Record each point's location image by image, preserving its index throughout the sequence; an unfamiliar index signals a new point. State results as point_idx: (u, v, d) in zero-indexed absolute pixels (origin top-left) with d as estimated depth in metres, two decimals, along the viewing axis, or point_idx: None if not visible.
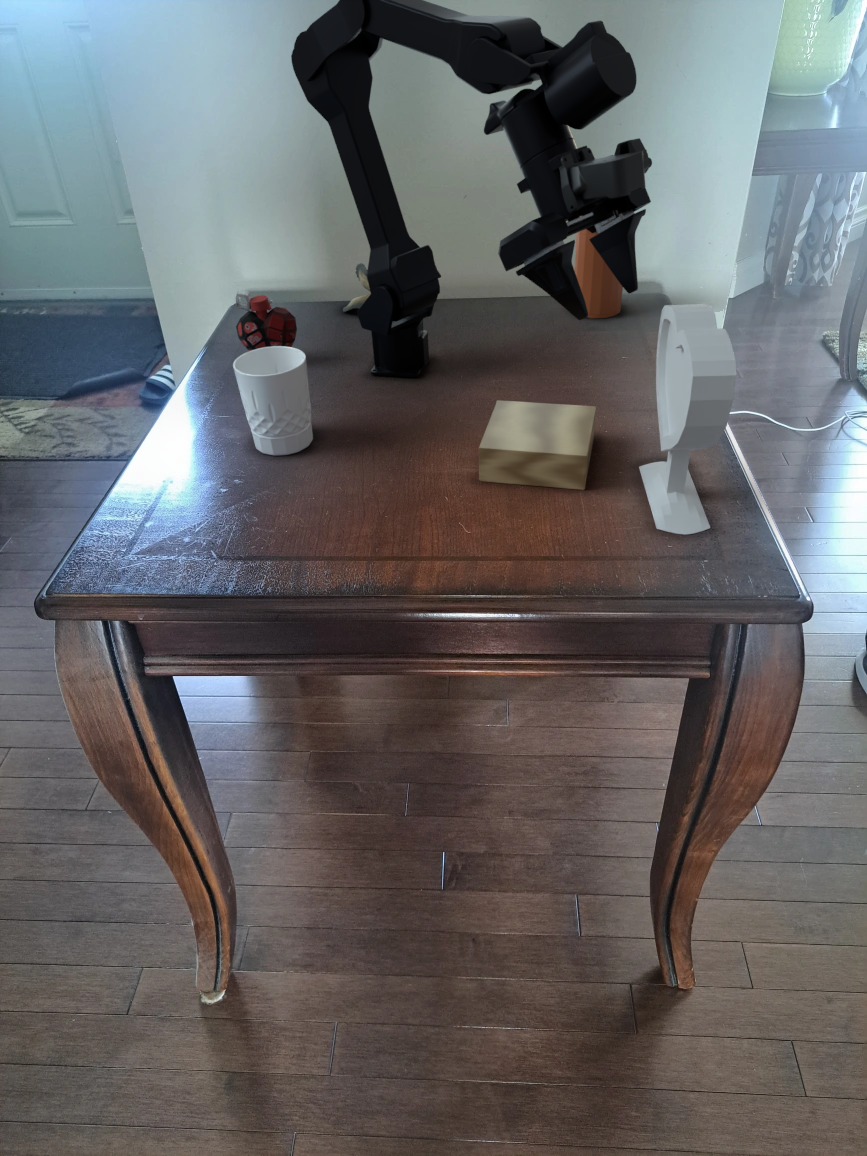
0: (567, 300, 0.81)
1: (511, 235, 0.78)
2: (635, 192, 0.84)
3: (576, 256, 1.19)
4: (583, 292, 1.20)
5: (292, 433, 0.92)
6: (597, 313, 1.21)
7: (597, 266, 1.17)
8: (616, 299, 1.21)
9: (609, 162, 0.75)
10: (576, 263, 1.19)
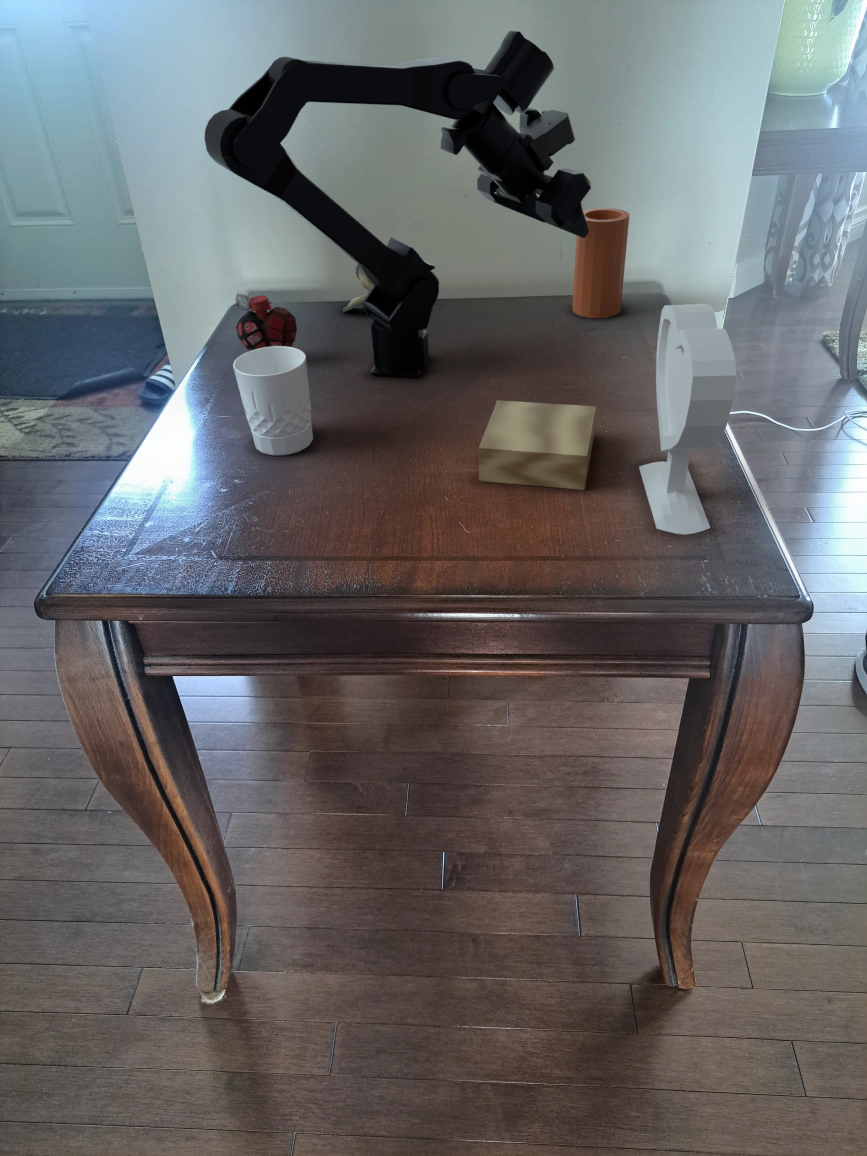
0: (579, 227, 1.06)
1: (561, 195, 0.99)
2: None
3: (576, 256, 1.19)
4: (583, 292, 1.20)
5: (292, 433, 0.92)
6: (597, 313, 1.21)
7: (597, 266, 1.17)
8: (616, 299, 1.21)
9: (565, 119, 1.01)
10: (576, 263, 1.19)
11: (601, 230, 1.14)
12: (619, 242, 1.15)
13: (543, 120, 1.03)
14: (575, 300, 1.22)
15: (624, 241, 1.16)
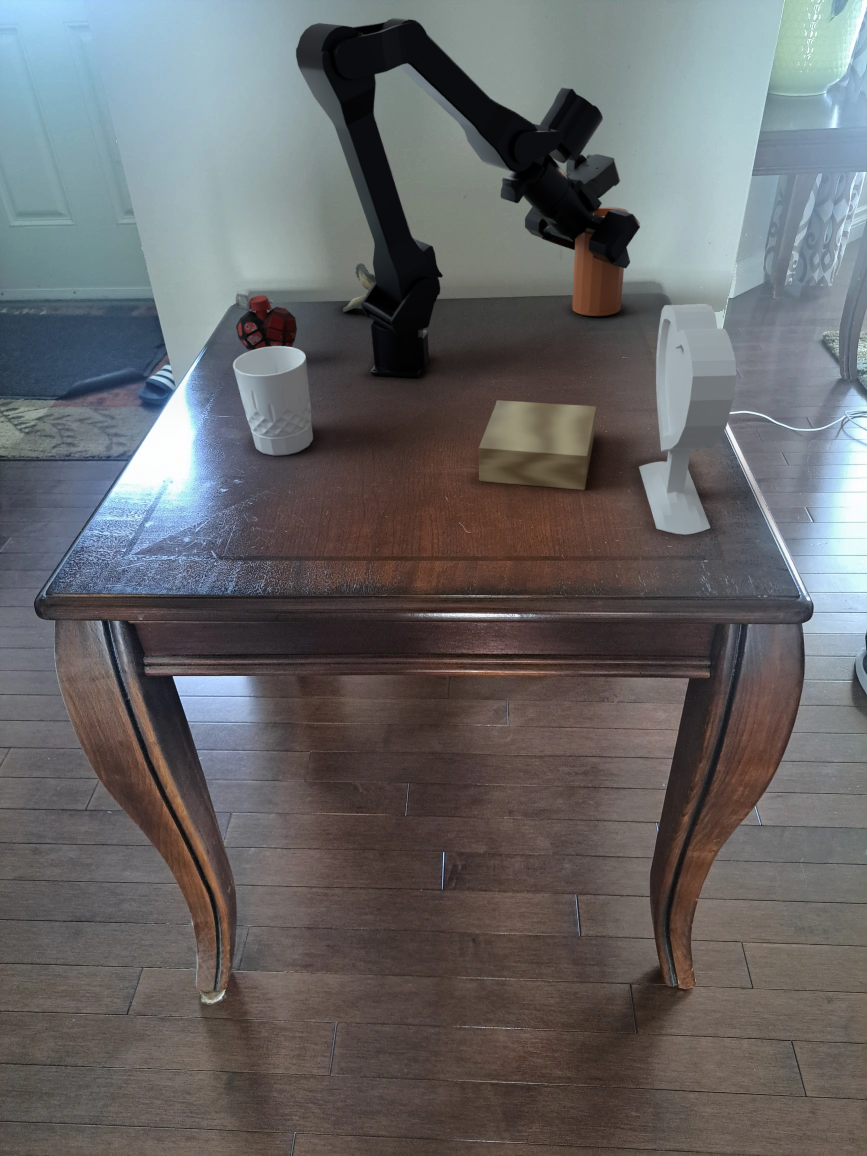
0: (622, 259, 1.16)
1: (614, 235, 1.07)
2: None
3: (575, 254, 1.19)
4: (583, 290, 1.20)
5: (292, 433, 0.92)
6: (597, 311, 1.21)
7: (596, 263, 1.17)
8: (616, 297, 1.20)
9: (611, 163, 1.10)
10: (575, 261, 1.20)
11: None
12: None
13: (590, 164, 1.11)
14: (575, 298, 1.22)
15: None
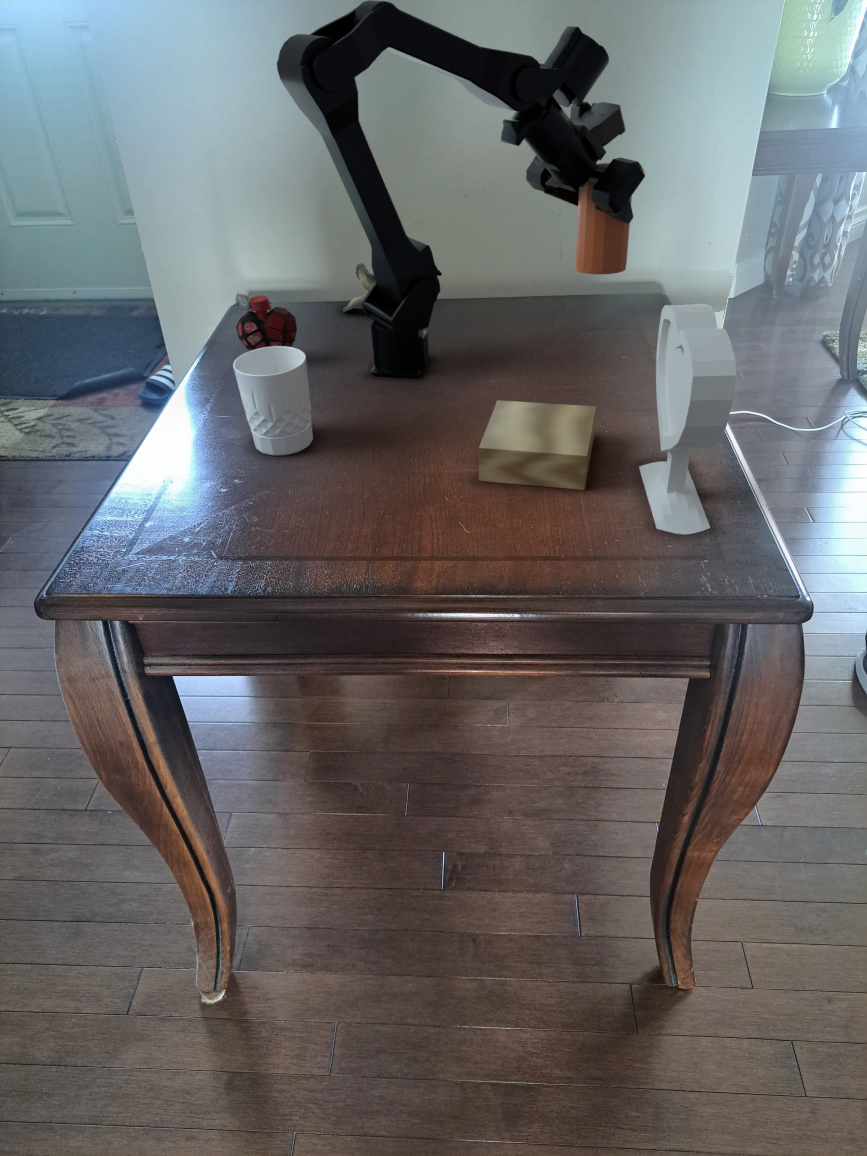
0: (625, 213, 1.12)
1: (618, 183, 1.03)
2: None
3: (579, 209, 1.15)
4: (585, 246, 1.16)
5: (292, 433, 0.92)
6: (600, 269, 1.16)
7: (599, 217, 1.13)
8: (620, 254, 1.16)
9: (617, 110, 1.05)
10: (579, 217, 1.15)
11: None
12: None
13: (595, 112, 1.07)
14: (578, 257, 1.18)
15: None
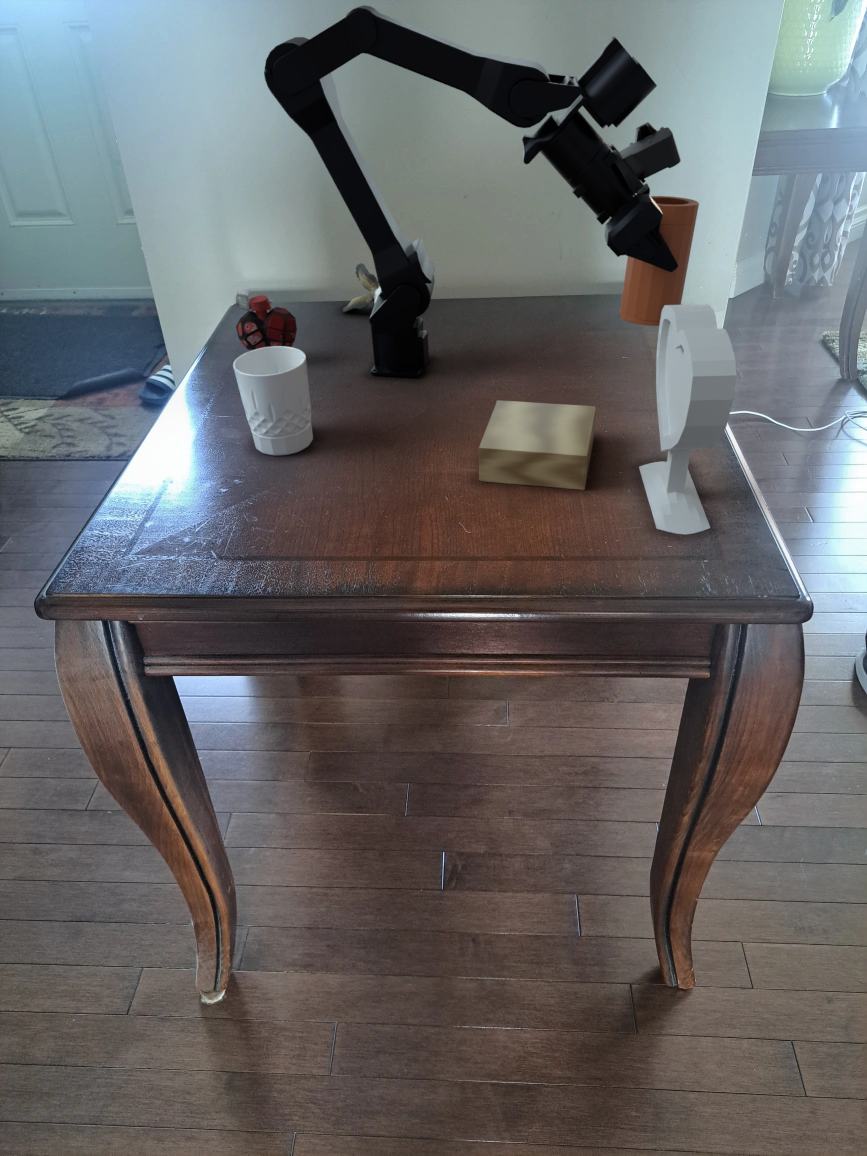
0: (661, 259, 0.96)
1: (621, 223, 0.89)
2: None
3: None
4: (624, 288, 1.01)
5: (292, 433, 0.92)
6: (632, 316, 1.01)
7: None
8: (658, 306, 0.99)
9: (664, 139, 0.90)
10: None
11: None
12: (666, 234, 0.95)
13: (650, 138, 0.93)
14: None
15: (675, 235, 0.95)
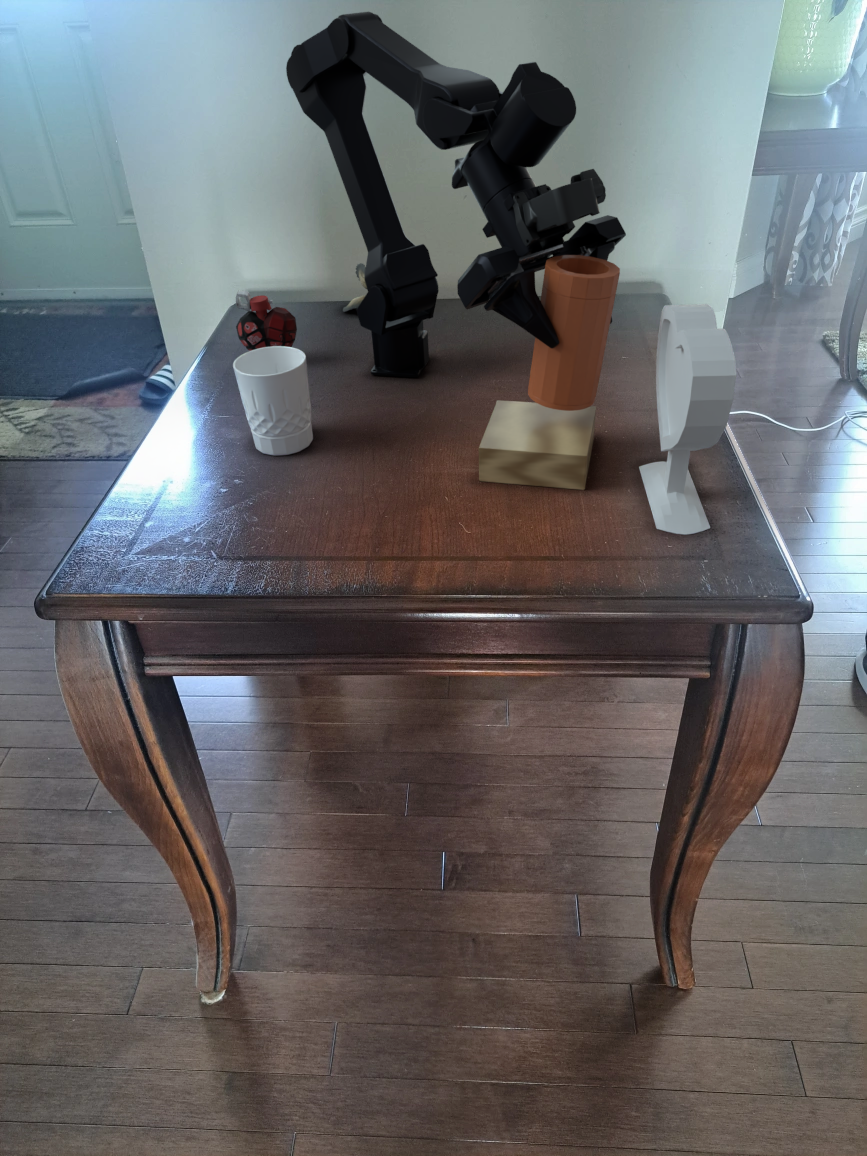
0: (536, 329, 0.81)
1: (465, 272, 0.79)
2: (605, 225, 0.83)
3: None
4: None
5: (292, 433, 0.92)
6: None
7: None
8: (542, 383, 0.84)
9: (552, 190, 0.75)
10: None
11: None
12: (552, 303, 0.80)
13: None
14: None
15: (560, 307, 0.79)
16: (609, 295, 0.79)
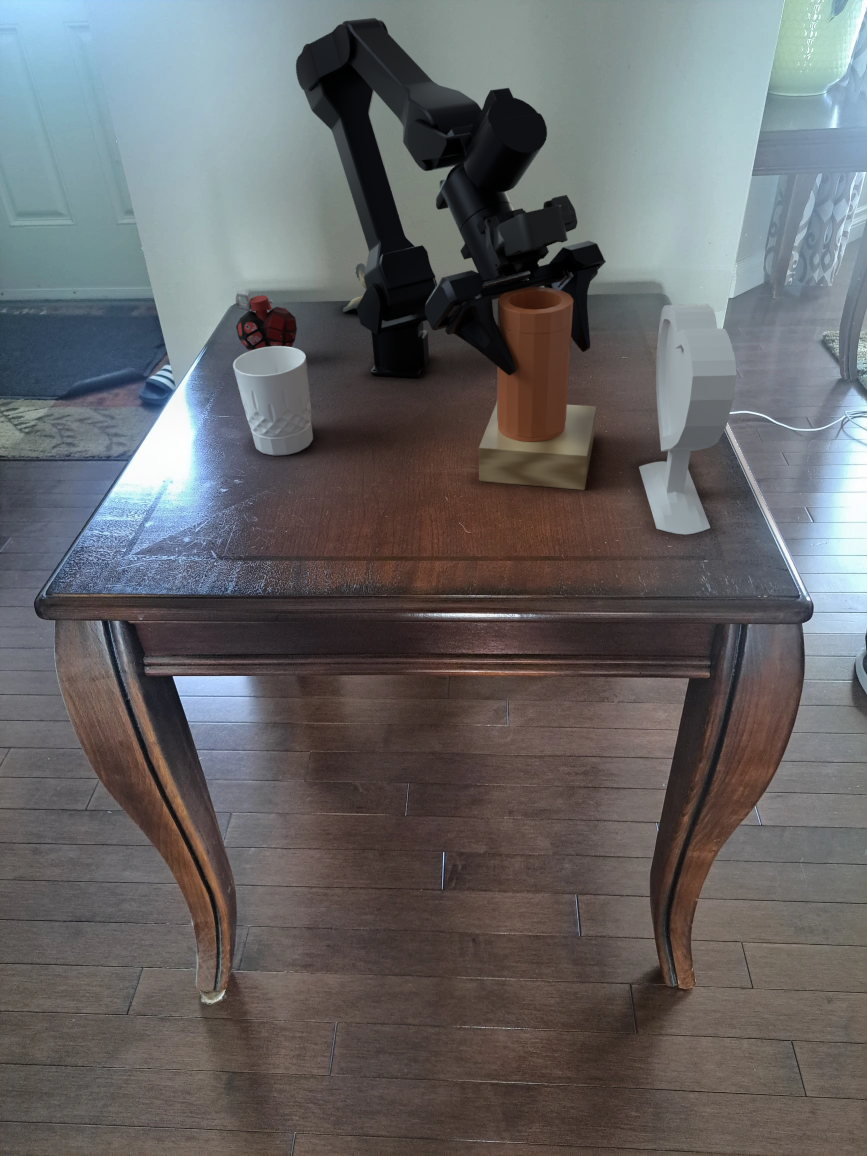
0: (494, 356, 0.80)
1: (431, 294, 0.80)
2: (583, 250, 0.82)
3: None
4: None
5: (292, 433, 0.92)
6: (498, 418, 0.88)
7: None
8: (506, 416, 0.85)
9: (516, 216, 0.75)
10: None
11: None
12: (504, 338, 0.80)
13: None
14: None
15: (512, 343, 0.79)
16: (560, 328, 0.78)
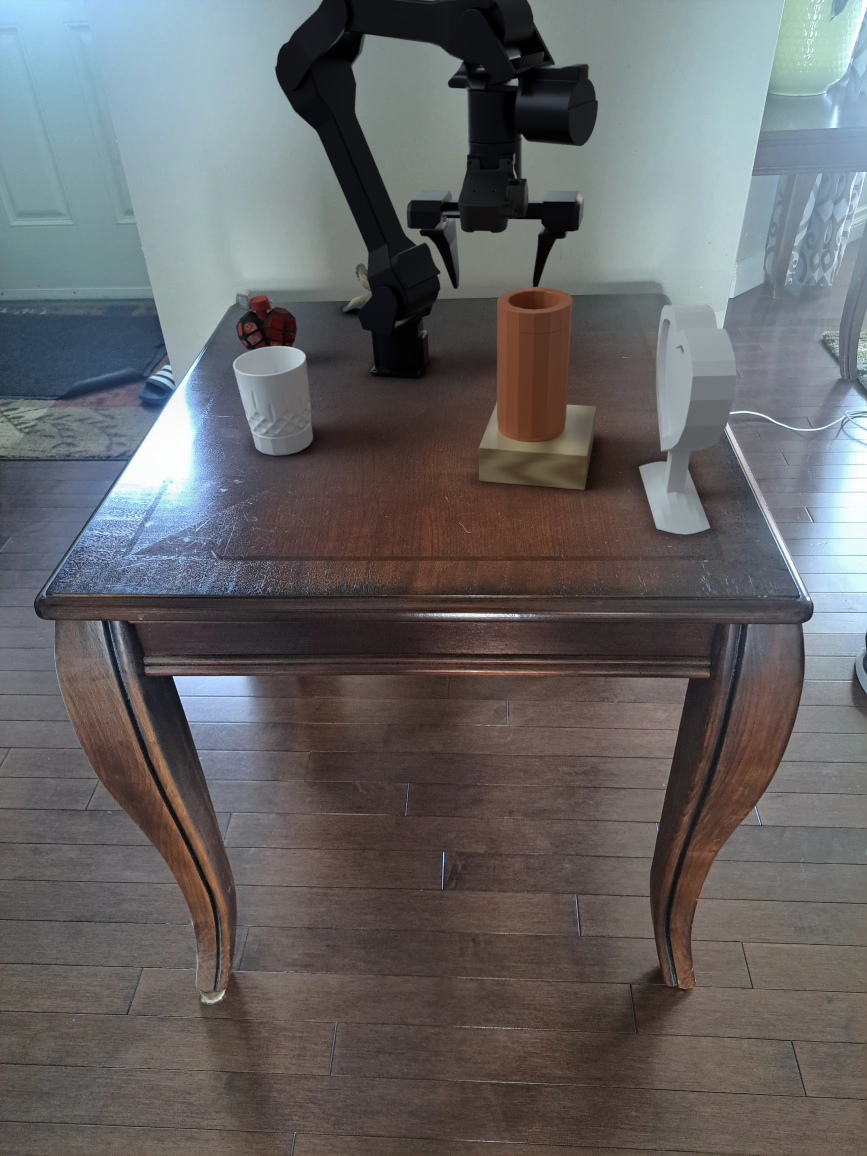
0: None
1: (416, 195, 0.92)
2: (554, 216, 0.86)
3: None
4: None
5: (292, 433, 0.92)
6: (498, 418, 0.88)
7: None
8: (506, 416, 0.85)
9: (458, 199, 0.83)
10: None
11: None
12: (504, 338, 0.80)
13: (490, 192, 0.83)
14: None
15: (511, 343, 0.80)
16: (560, 328, 0.78)
